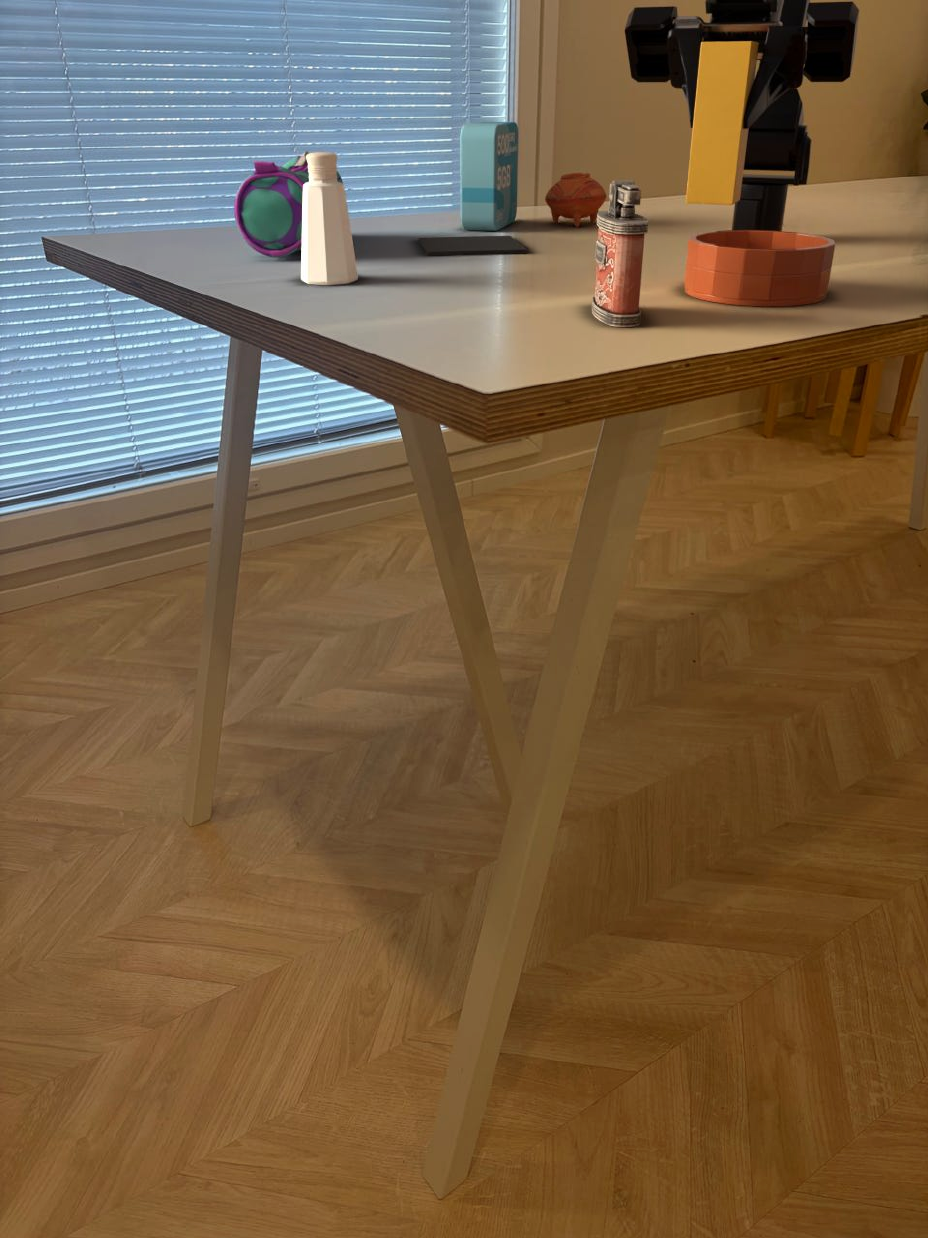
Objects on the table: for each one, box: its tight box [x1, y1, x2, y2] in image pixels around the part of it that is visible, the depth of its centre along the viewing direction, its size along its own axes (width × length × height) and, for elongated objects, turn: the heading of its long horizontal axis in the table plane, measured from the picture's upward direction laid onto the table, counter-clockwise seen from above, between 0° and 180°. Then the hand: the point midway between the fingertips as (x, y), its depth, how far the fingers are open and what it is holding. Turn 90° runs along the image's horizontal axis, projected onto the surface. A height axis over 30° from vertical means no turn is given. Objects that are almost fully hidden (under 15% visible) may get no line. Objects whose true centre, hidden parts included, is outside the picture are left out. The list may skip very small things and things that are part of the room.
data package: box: [459, 121, 519, 232], centre depth 126 cm, size 12×4×12 cm, turn 164°
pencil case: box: [233, 149, 344, 259], centre depth 111 cm, size 21×9×10 cm, turn 178°
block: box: [685, 41, 759, 206], centre depth 83 cm, size 4×4×12 cm
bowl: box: [683, 229, 836, 307], centre depth 87 cm, size 12×12×4 cm
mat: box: [417, 235, 528, 256], centre depth 113 cm, size 11×11×1 cm
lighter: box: [591, 179, 649, 328], centre depth 78 cm, size 8×3×10 cm, turn 5°
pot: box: [544, 172, 608, 228], centre depth 129 cm, size 8×8×7 cm
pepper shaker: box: [300, 151, 359, 286], centre depth 92 cm, size 5×5×11 cm
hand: (718, 124), depth 82 cm, fingers closed on block, 4 cm apart
